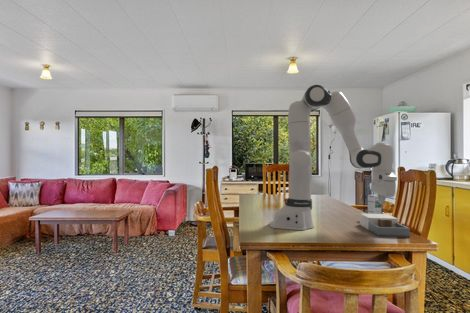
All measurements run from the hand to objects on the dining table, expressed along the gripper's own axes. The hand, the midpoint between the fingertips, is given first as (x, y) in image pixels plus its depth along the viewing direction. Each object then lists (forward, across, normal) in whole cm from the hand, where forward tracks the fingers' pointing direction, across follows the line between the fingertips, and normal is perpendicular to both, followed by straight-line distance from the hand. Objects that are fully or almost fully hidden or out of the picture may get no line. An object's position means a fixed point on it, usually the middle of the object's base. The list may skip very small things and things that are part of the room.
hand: (381, 203), depth 155 cm
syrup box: (+13, -25, +7) cm, 29 cm away
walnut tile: (+10, +2, +1) cm, 10 cm away
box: (+13, +7, +1) cm, 15 cm away
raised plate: (+13, -5, +1) cm, 14 cm away
